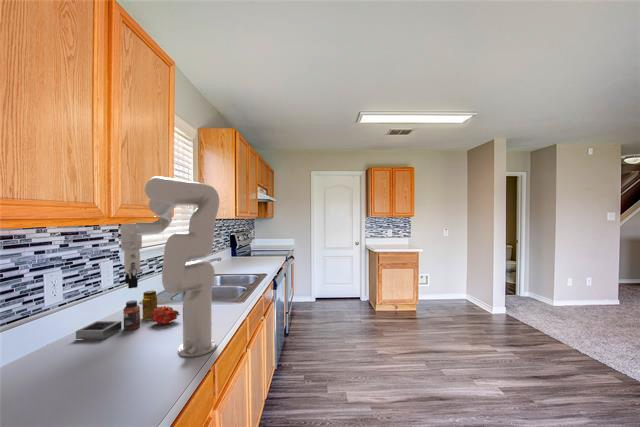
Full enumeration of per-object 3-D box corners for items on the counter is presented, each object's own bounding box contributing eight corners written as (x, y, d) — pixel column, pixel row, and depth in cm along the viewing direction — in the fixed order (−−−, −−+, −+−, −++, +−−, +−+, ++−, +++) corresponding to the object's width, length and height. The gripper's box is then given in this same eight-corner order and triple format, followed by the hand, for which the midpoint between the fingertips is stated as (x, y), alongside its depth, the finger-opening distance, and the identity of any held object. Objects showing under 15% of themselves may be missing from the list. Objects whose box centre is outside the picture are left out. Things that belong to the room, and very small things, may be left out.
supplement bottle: (140, 324, 129) (140, 298, 129) (139, 329, 123) (139, 302, 123) (124, 326, 126) (124, 300, 126) (122, 331, 121) (122, 304, 121)
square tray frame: (103, 340, 112) (103, 331, 112) (75, 340, 112) (75, 331, 112) (121, 329, 123) (121, 321, 123) (96, 329, 123) (96, 321, 123)
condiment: (138, 318, 136) (138, 292, 136) (154, 312, 144) (154, 288, 144) (149, 320, 133) (149, 294, 133) (165, 314, 141) (165, 290, 141)
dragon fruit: (148, 328, 129) (177, 329, 132) (145, 322, 122) (176, 323, 125) (153, 308, 134) (182, 310, 137) (151, 302, 127) (180, 304, 130)
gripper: (145, 247, 121) (144, 288, 121) (138, 243, 134) (138, 280, 134) (123, 248, 116) (123, 291, 116) (118, 244, 129) (118, 282, 129)
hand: (131, 285), depth 125 cm, fingers open, 9 cm apart
